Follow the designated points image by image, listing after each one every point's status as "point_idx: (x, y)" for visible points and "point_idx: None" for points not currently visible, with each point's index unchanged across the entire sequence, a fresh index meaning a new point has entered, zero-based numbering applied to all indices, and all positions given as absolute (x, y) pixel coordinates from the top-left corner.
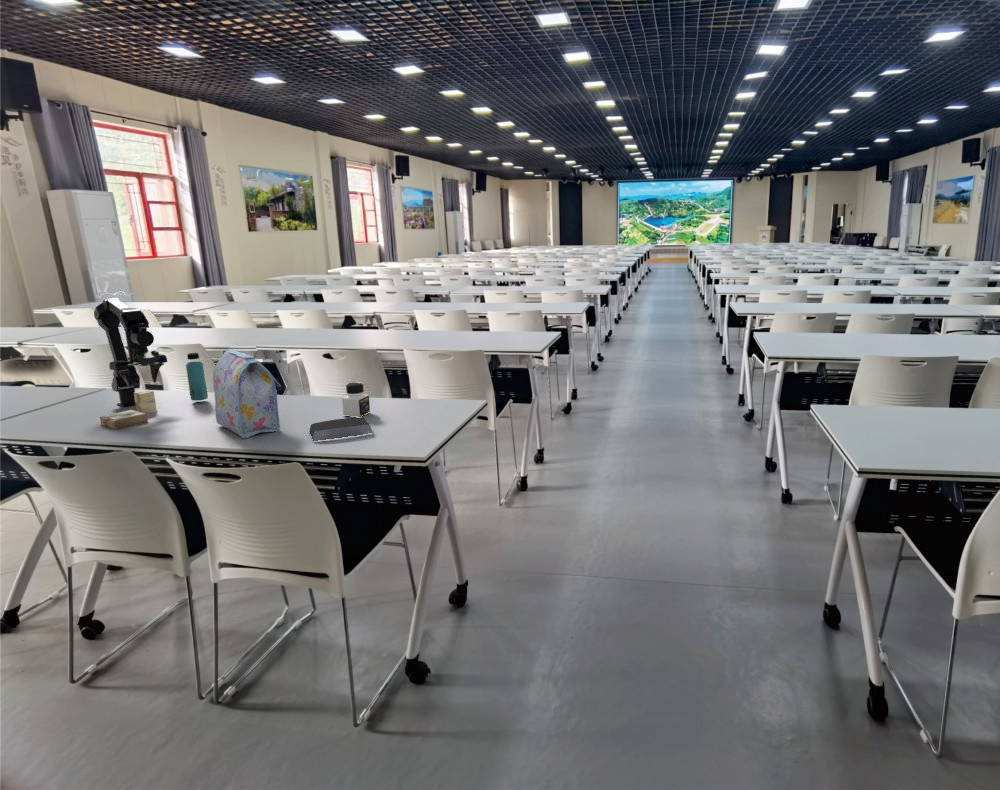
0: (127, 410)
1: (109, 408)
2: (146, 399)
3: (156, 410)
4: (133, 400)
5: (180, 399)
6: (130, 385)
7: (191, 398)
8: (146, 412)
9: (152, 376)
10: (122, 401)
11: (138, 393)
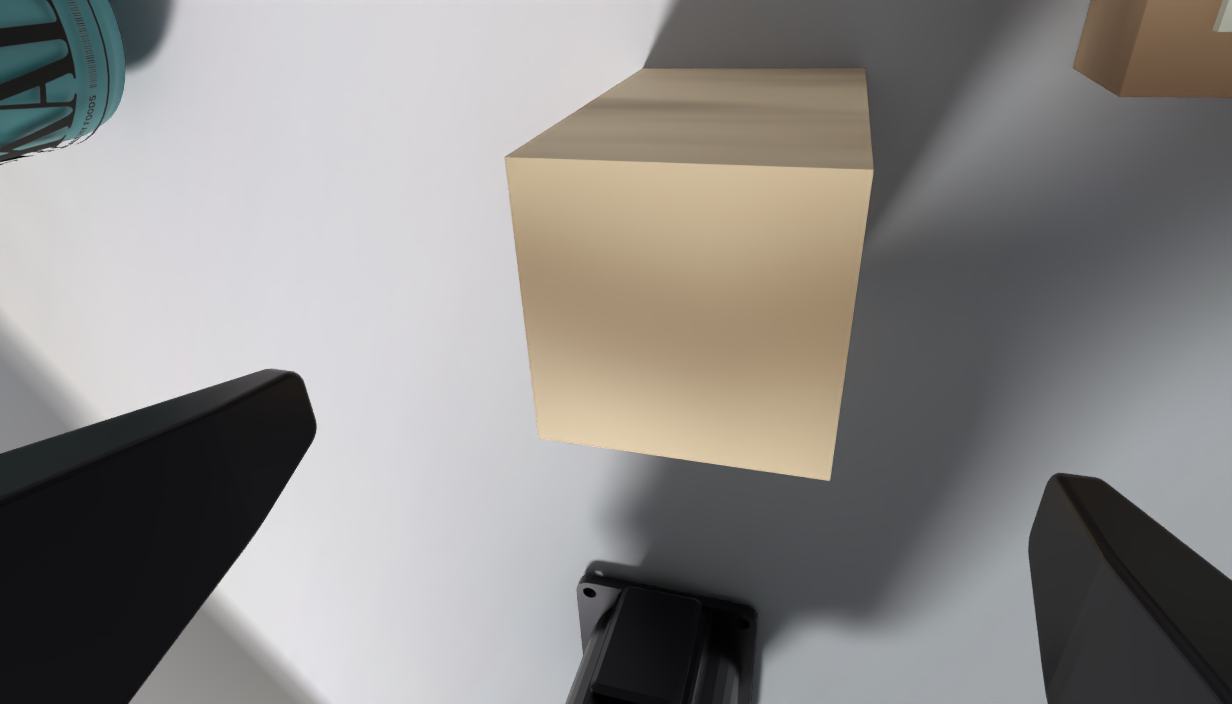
0: (1228, 87)
1: (866, 694)
2: (744, 123)
3: (641, 70)
4: (645, 620)
5: (250, 360)
6: (1101, 500)
7: (96, 20)
8: (810, 71)
9: (204, 551)
10: (732, 688)
11: (845, 288)
